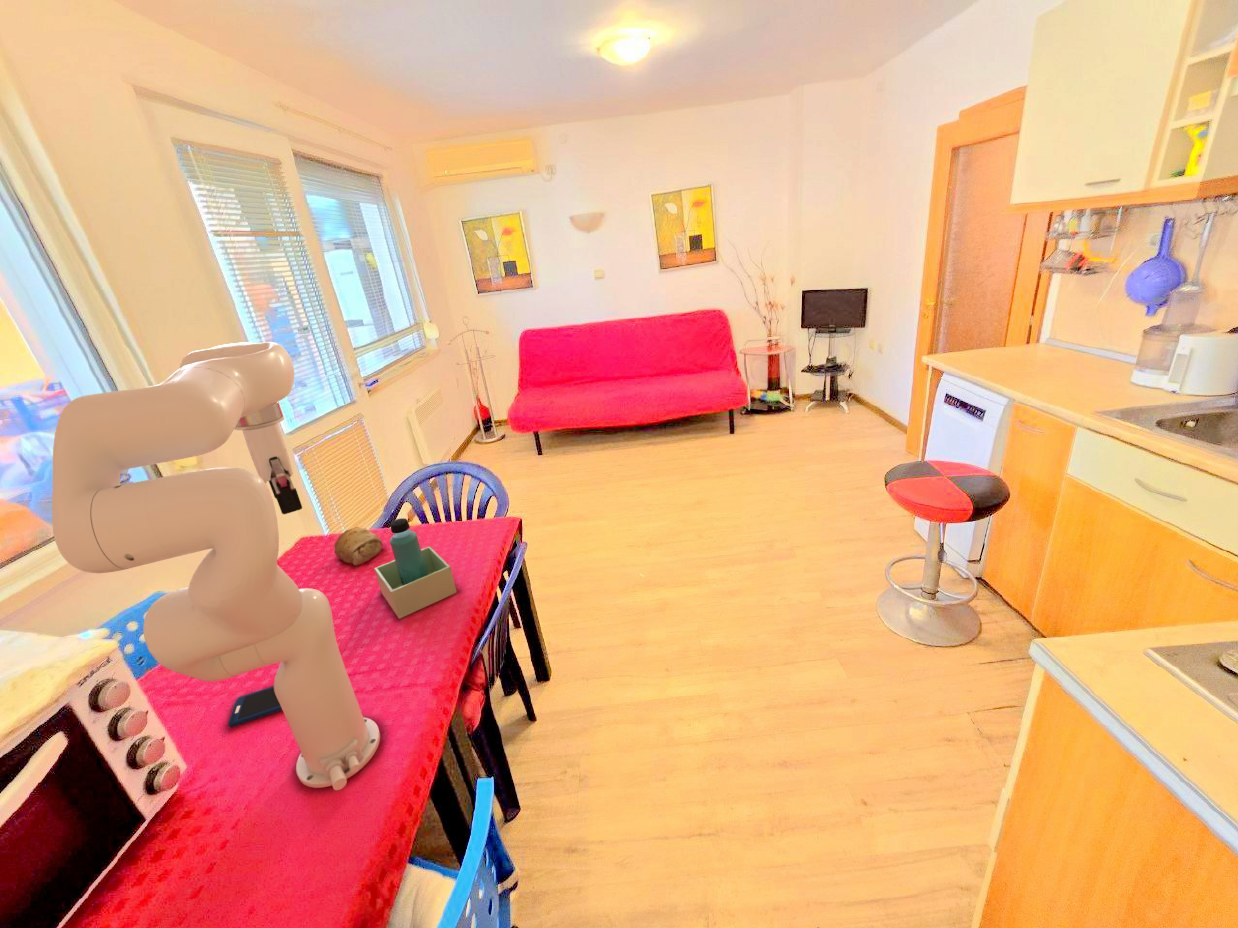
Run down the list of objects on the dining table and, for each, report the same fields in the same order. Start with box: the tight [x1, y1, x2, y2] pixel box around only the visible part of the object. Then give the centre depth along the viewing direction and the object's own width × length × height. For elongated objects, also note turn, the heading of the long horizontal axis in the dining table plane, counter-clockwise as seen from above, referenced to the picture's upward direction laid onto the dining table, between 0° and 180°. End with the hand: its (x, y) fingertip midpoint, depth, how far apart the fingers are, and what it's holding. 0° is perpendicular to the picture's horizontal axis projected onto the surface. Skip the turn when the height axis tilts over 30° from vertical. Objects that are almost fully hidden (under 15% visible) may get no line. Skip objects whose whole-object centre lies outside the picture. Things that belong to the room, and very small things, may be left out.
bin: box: [374, 546, 457, 620], centre depth 126 cm, size 14×14×8 cm
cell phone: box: [227, 685, 283, 728], centre depth 97 cm, size 7×14×1 cm, turn 114°
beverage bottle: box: [389, 517, 429, 585], centre depth 123 cm, size 6×7×20 cm
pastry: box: [333, 526, 383, 567], centre depth 147 cm, size 14×12×8 cm
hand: (288, 503), depth 94 cm, fingers open, 9 cm apart
